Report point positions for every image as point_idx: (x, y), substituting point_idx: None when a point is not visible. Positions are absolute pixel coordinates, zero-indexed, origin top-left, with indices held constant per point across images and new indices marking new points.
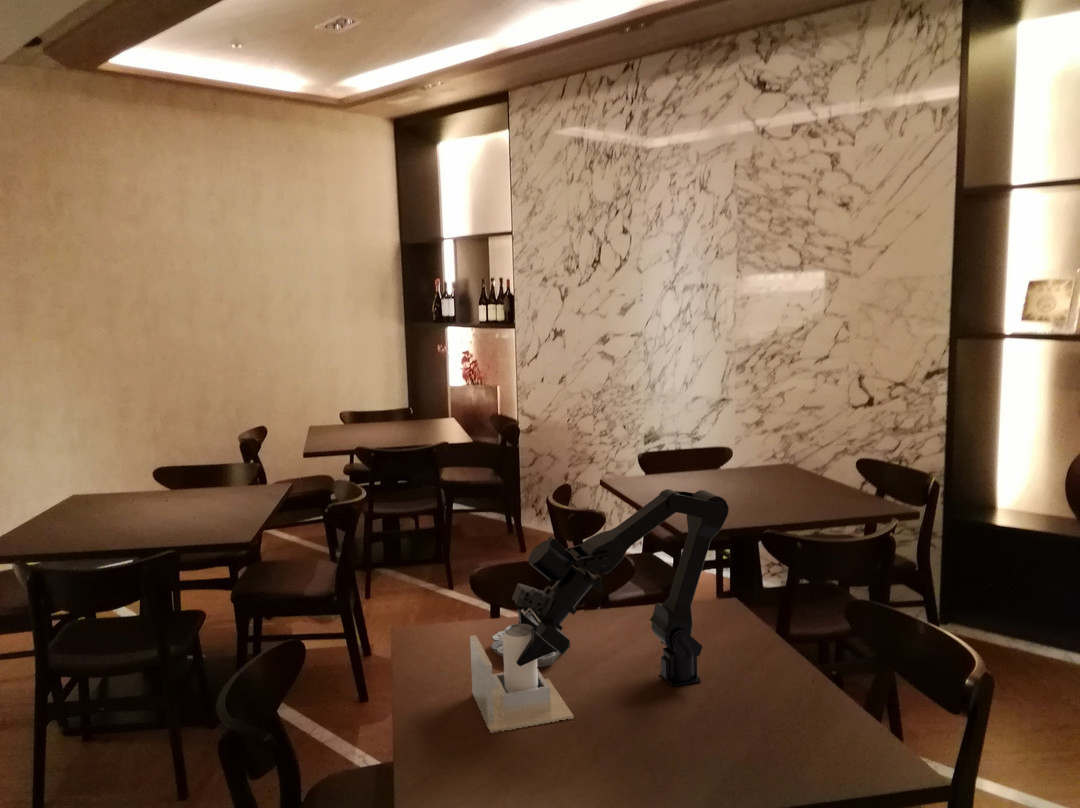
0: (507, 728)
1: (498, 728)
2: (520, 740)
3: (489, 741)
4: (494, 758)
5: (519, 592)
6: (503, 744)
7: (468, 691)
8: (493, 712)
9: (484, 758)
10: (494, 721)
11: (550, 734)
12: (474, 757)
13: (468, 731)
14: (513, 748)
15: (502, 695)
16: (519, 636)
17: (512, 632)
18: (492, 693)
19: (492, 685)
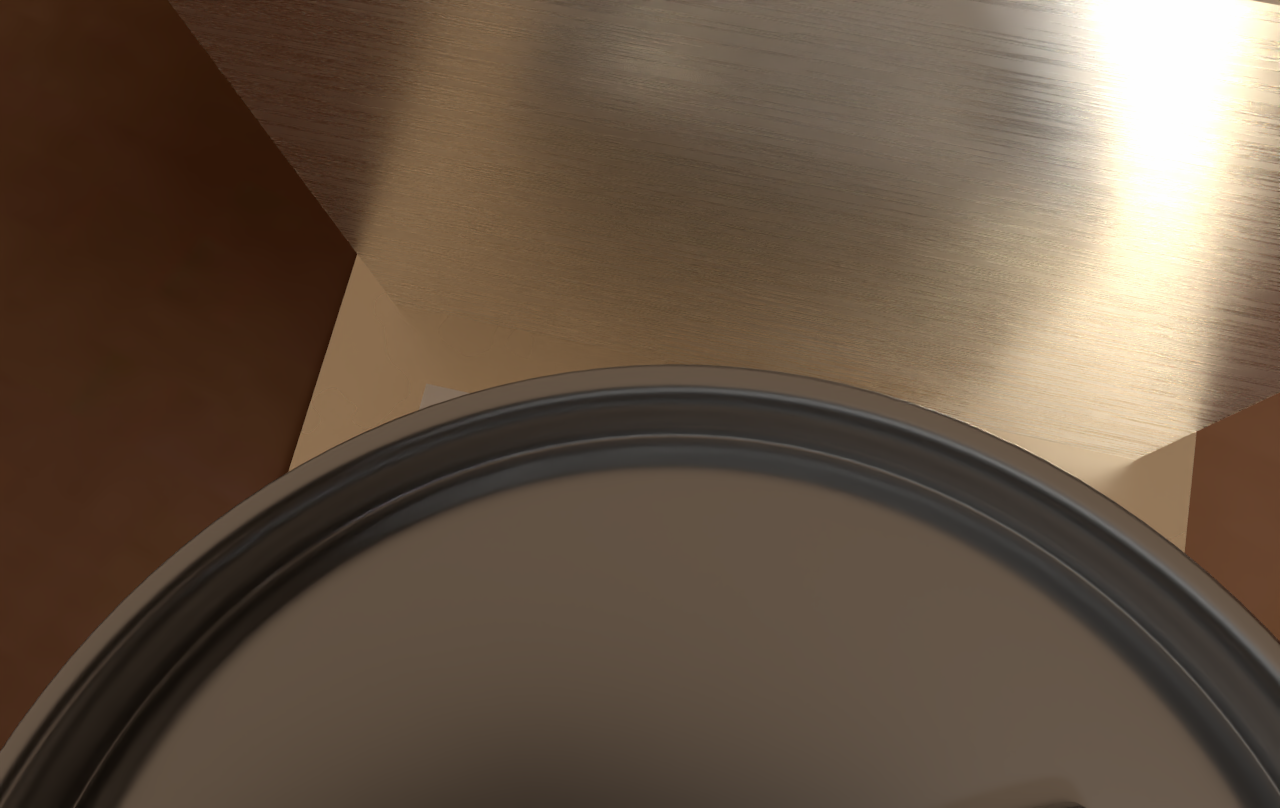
0: (312, 404)
1: (344, 323)
2: (105, 436)
3: (266, 203)
4: (20, 135)
5: None
6: (148, 281)
7: (1257, 413)
8: (353, 243)
9: (73, 72)
10: (480, 345)
11: (3, 736)
12: (136, 16)
13: None
14: (39, 325)
15: (460, 394)
16: (14, 774)
17: (752, 757)
18: (268, 125)
19: (215, 61)
